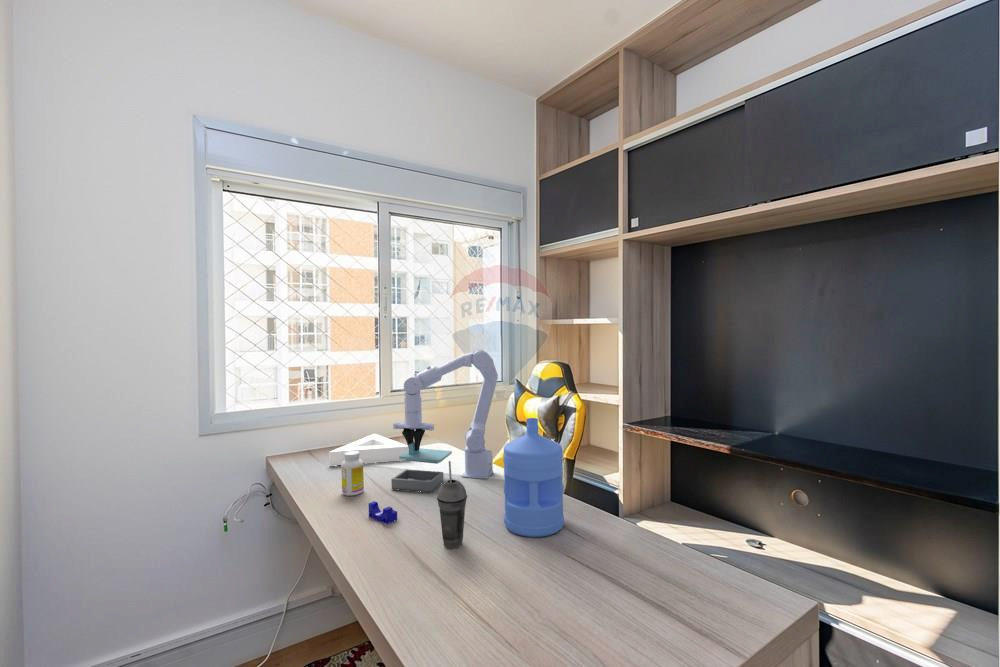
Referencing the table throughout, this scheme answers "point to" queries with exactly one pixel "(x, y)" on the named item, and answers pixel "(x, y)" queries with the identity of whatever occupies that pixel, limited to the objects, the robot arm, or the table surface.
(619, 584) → the table surface
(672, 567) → the table surface
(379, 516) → the cable holder
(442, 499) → the beverage cup
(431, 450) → the lid
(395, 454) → the triangular ruler
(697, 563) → the table surface
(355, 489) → the supplement bottle
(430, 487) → the tub
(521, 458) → the water jug
